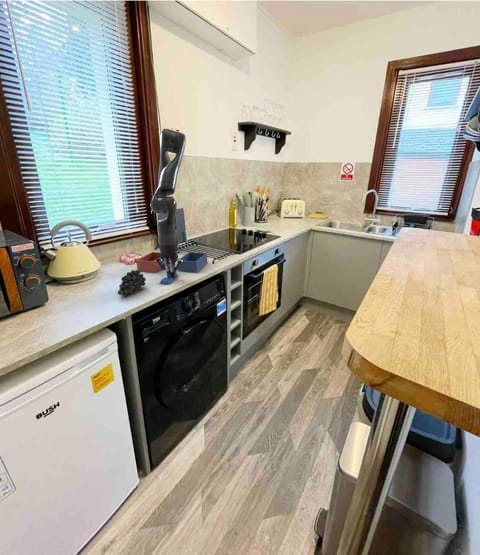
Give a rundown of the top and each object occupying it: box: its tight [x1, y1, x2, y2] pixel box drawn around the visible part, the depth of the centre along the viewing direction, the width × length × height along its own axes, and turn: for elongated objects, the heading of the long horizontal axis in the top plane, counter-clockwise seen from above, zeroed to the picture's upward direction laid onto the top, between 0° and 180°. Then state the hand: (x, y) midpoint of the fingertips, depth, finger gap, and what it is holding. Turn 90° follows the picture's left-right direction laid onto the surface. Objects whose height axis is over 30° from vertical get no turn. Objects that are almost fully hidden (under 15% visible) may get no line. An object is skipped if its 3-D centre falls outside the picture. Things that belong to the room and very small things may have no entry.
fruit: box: [117, 269, 147, 298], centre depth 113 cm, size 9×8×15 cm
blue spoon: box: [159, 270, 178, 285], centre depth 127 cm, size 11×4×3 cm, turn 166°
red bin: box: [135, 251, 162, 273], centre depth 143 cm, size 10×15×6 cm
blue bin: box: [177, 251, 208, 273], centre depth 143 cm, size 10×15×6 cm
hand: (171, 278), depth 129 cm, fingers closed on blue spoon, 1 cm apart
